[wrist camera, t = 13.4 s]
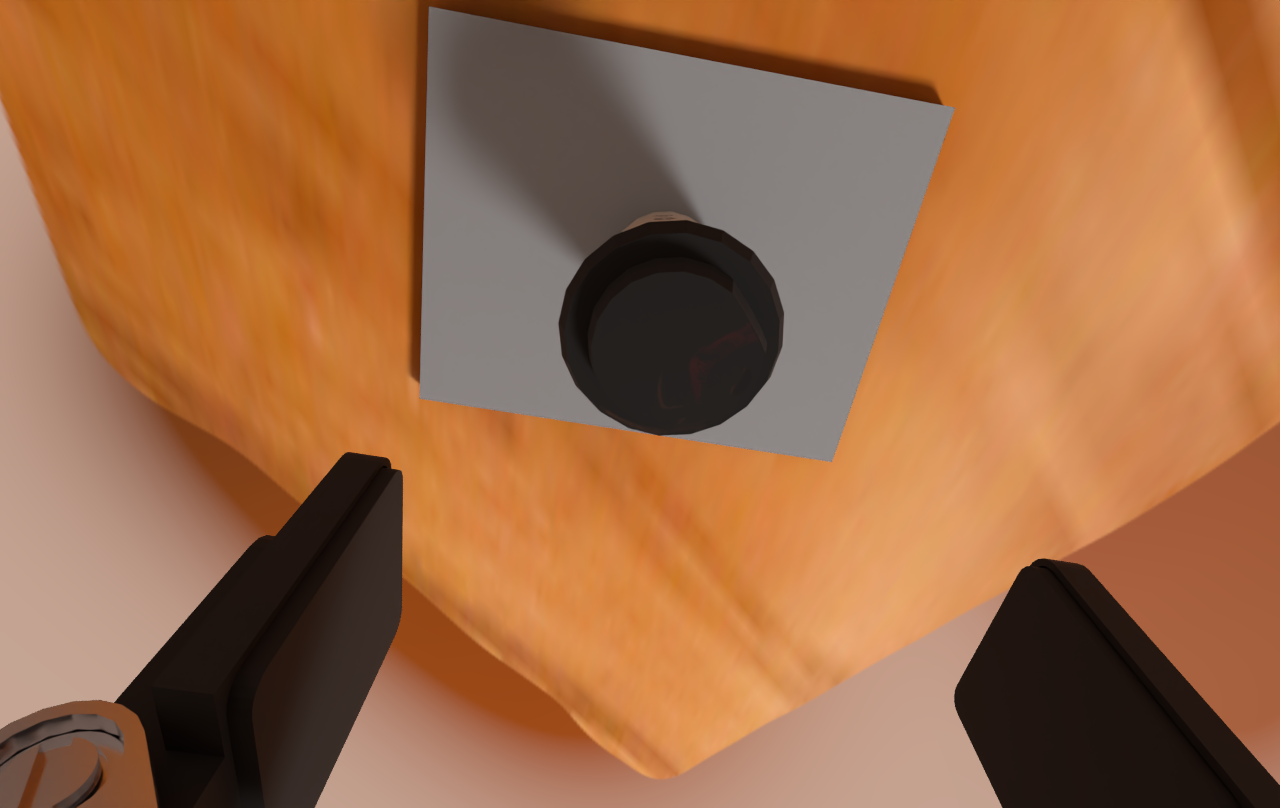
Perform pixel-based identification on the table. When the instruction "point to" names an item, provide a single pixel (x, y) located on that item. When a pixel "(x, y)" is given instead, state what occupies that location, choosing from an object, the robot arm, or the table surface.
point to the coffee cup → (671, 326)
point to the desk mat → (654, 182)
